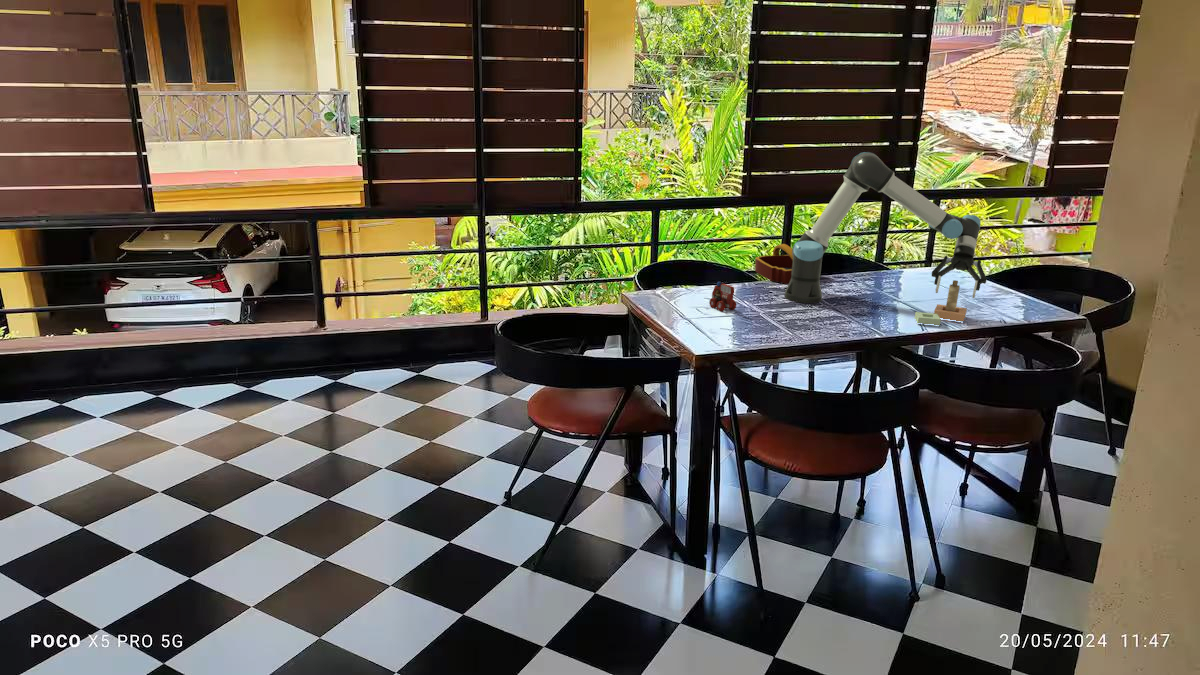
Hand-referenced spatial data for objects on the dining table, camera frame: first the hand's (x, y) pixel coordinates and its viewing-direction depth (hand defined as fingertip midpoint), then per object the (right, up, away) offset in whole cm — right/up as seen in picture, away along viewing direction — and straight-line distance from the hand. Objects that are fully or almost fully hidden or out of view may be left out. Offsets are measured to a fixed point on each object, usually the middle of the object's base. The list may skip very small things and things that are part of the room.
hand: (954, 293), depth 331 cm
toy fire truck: (-91, -6, +1) cm, 92 cm away
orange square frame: (-2, -9, 0) cm, 10 cm away
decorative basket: (-53, +11, +61) cm, 81 cm away
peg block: (-2, -9, 0) cm, 10 cm away
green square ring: (-14, -12, -8) cm, 20 cm away
